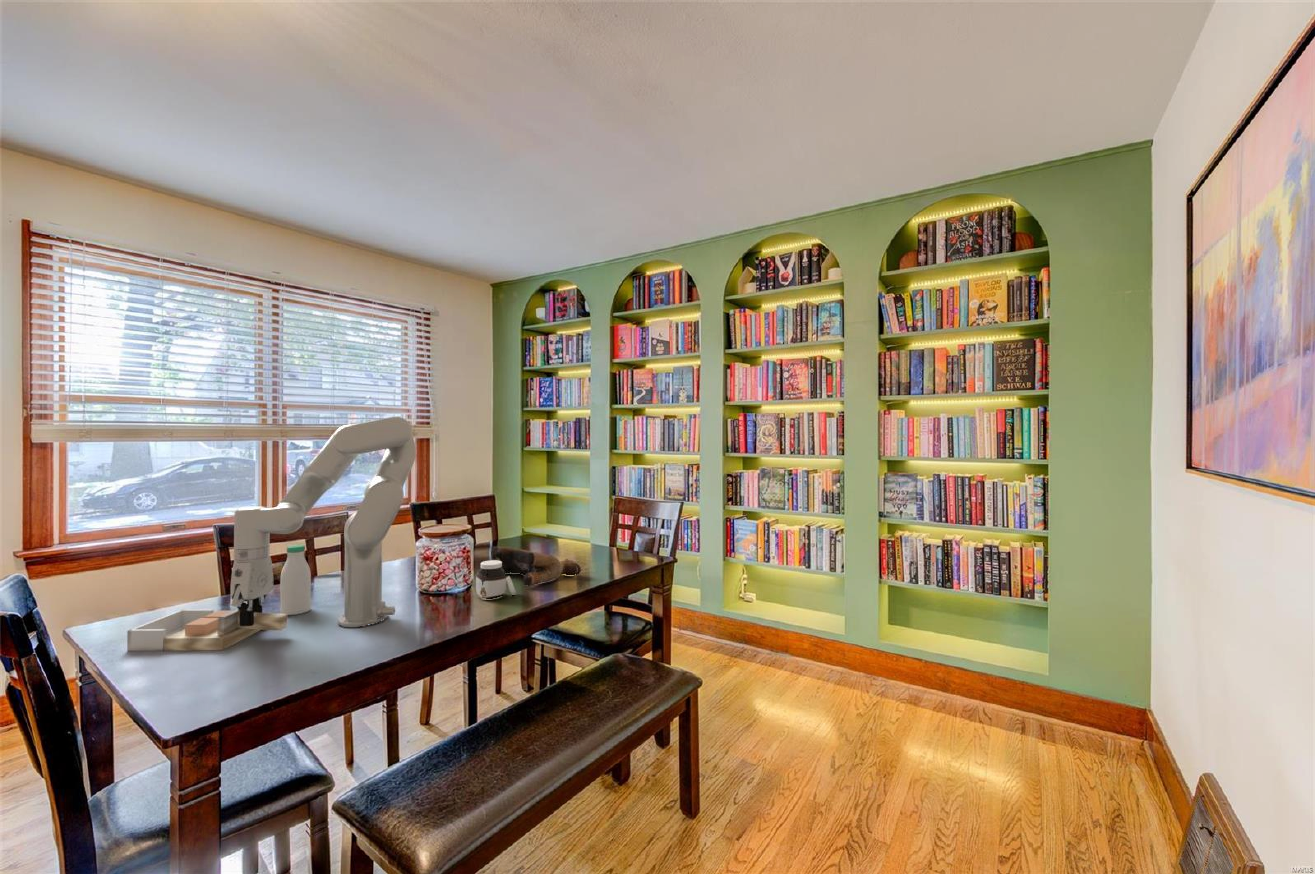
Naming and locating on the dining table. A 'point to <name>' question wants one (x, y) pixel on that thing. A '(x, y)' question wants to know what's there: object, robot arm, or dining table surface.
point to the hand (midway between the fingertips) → (251, 622)
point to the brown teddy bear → (534, 565)
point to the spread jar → (492, 580)
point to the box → (161, 630)
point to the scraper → (260, 621)
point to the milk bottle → (295, 583)
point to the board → (206, 640)
